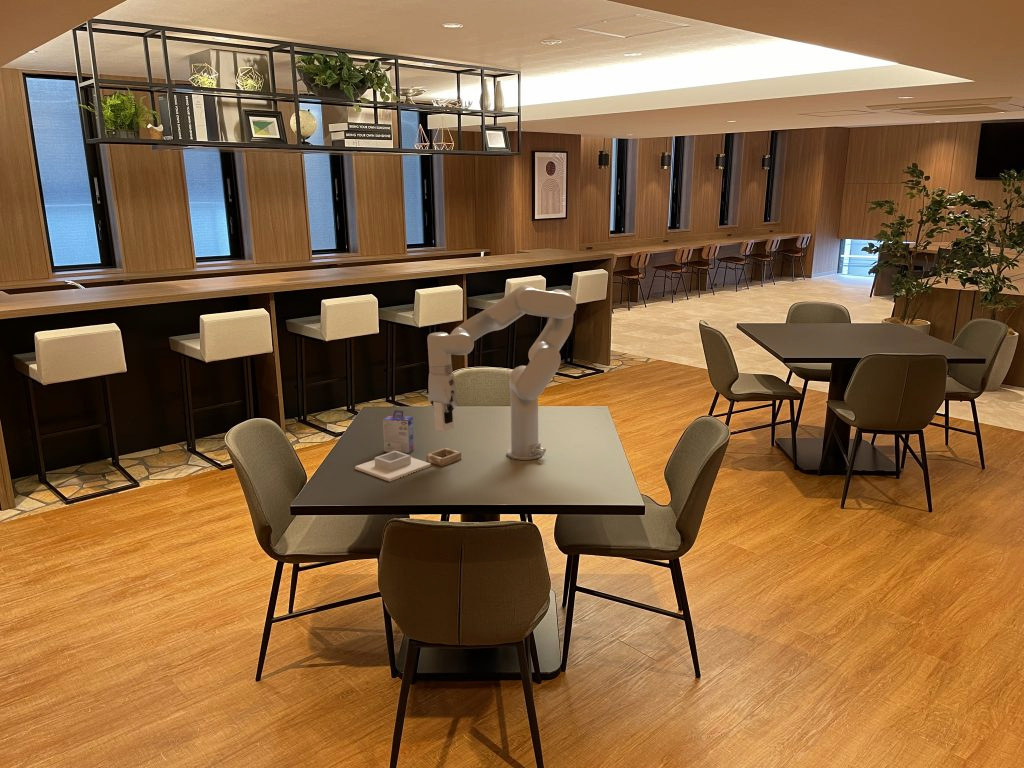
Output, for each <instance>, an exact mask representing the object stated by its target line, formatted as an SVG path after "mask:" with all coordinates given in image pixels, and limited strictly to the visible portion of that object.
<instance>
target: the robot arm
mask: <svg viewBox="0 0 1024 768" xmlns="http://www.w3.org/2000/svg"><path fill="white" fill-rule="evenodd" d="M576 310H577V302H576V300H575V298H574V297H573V296H572V295H571V294H570V293H569V292H566V291H564V290H563V289H553V290H551V291H549V290H548V291H547V290H541V289H537V288H534V287H533V286H531V285H529V284H528V285H527V284H524V285H521V286H519V287H517V288H515V289H513V290H512V291H511V292H510V293H508V294H507V295H505V296H503V298H501V299H499V300H498V301H497V302H495V303H493V304H492V305H491V306H489V307H487V308H485V309H483V310H482V311H480V312H479V313H477V314H475V315H473V316H470V318H468V319H467V320H465V321H464V322H462V323H461V324H459V325H458V326H456V327H455V328H454V329H453V330H452V331H451V332H450V334H449V333H447V332H444V331H438V332H436V331H435V332H432V333H429V334H428V335H427V340H426V341H427V350H428V351H427V355H428V367H429V368H428V369H429V370H428V371H429V374H428V382H427V384H428V385H427V386H428V388H427V389H428V396H427V400H428V401H429V402H430V403H431V404H430V405H432V408H433V410H434V406H433V402H434V401H437V402H441V403H444V407H445V412H444V417H445V424H447V423H450V422H452V421H453V422H454V416H453V417H452V411H453V412H454V410H455V408H456V407H457V406H459V403H458V398H459V397H458V396H459V395H458V388H457V382H456V378H455V374H454V373H453V364H452V355H456V356H465V355H469V354H470V353H471V352H472V351H474V350H473V349H474V347H475V341H477V340H478V339H480V338H481V337H483V336H484V335H486V334H488V333H491V332H494V331H500V330H503V329H505V328H507V327H509V325H511V324H512V323H514V322H515V321H517V320H518V319H519V318H521V317H522V316H524V315H526V314H527V315H531V316H536V317H543V318H548V319H547V322H546V324H545V326H544V328H543V330H542V331H541V333H540V334H539V336H538V337H537V338H536V339H535V341H534V343H533V344H532V345H531V347H530V348H529V350H528V354H527V355H528V356H527V357H528V359H529V361H528V364H527V365H519V366H516V367H514V368H513V370H512V371H511V372H510V375H509V379H508V384H509V385H508V386H509V398H510V442H511V443H510V446H511V447H510V448H508V449H507V450H506V456H508V457H509V458H510V459H513V460H519V461H520V460H521V461H530V460H536V459H539V458H541V457H544V456H545V453H546V451H547V448H544V447H542V445H541V443H542V442H539V397H540V396H541V394H543V392H544V390H545V389H546V388H547V386H548V385H549V384H550V382H551V381H552V379H553V377H554V376H555V375H556V373H557V372H558V370H559V368H560V366H561V359H562V358H561V353H560V351H561V349H562V347H563V346H564V344H565V343H566V341H567V340H568V337H569V336H570V334H571V332H572V329H573V325H574V314H575V311H576ZM448 404H449V407H448Z"/></svg>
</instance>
